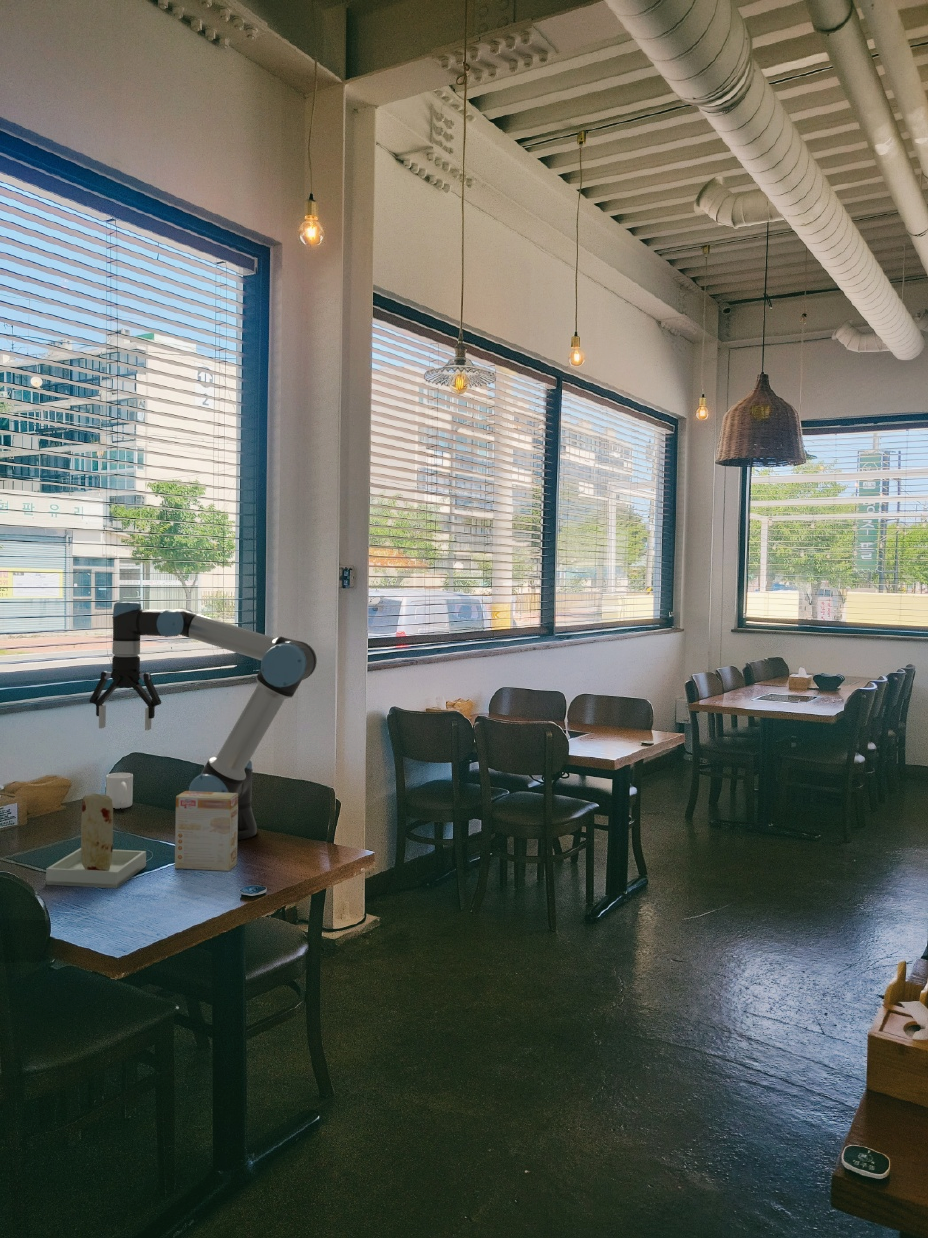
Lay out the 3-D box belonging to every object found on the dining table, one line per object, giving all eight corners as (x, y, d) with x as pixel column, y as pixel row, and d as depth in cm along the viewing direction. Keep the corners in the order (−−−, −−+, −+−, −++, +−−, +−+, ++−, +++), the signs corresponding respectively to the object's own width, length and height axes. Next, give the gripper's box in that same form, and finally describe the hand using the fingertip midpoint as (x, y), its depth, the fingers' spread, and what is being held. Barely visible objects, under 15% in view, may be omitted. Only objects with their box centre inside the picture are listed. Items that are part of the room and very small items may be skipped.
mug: (138, 810, 306) (138, 778, 306) (111, 812, 302) (112, 781, 301) (128, 802, 316) (129, 771, 316) (103, 804, 312) (103, 774, 311)
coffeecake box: (237, 863, 253) (239, 792, 253) (229, 872, 246) (230, 798, 245) (183, 861, 254) (184, 790, 253) (173, 869, 247) (175, 796, 246)
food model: (73, 871, 240) (74, 794, 239) (94, 864, 246) (95, 789, 245) (100, 878, 235) (101, 799, 234) (121, 870, 241) (122, 794, 240)
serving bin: (145, 866, 249) (146, 851, 249) (116, 888, 231) (116, 872, 231) (80, 862, 250) (80, 848, 250) (45, 884, 232) (46, 868, 232)
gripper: (173, 655, 272) (172, 728, 273) (90, 652, 273) (88, 724, 274) (163, 658, 264) (162, 732, 265) (77, 654, 266) (76, 729, 267)
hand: (125, 728), depth 270 cm, fingers open, 13 cm apart
